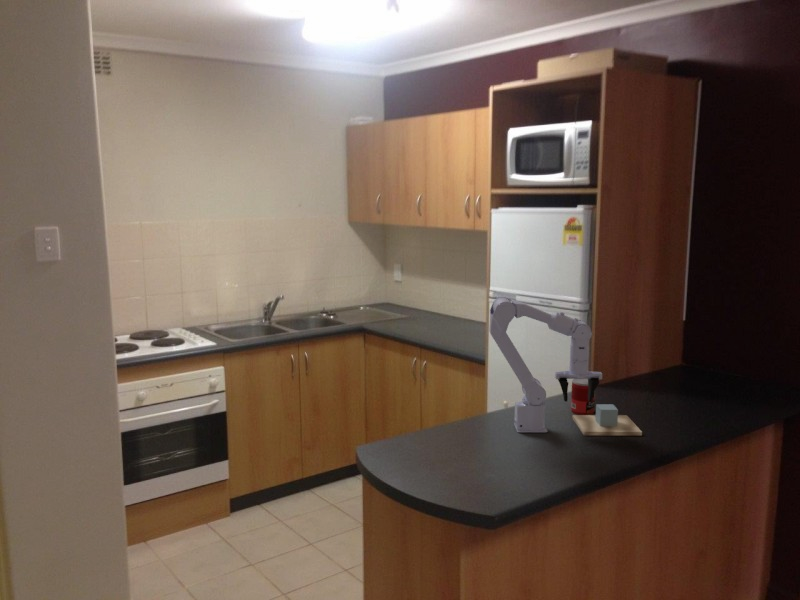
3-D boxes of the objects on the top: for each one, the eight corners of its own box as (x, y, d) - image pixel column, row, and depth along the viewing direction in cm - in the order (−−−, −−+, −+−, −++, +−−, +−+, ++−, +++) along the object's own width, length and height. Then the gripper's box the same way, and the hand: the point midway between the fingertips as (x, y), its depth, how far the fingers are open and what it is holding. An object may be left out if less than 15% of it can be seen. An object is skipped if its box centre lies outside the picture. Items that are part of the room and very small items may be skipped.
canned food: (590, 416, 239) (592, 385, 238) (567, 412, 244) (568, 381, 242) (597, 410, 246) (598, 380, 244) (574, 407, 250) (576, 376, 248)
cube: (600, 426, 227) (600, 409, 226) (595, 420, 232) (596, 404, 231) (617, 426, 227) (618, 409, 226) (612, 420, 232) (613, 404, 231)
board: (584, 435, 222) (584, 431, 222) (572, 418, 238) (572, 415, 238) (641, 435, 222) (642, 431, 222) (626, 418, 238) (626, 415, 237)
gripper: (558, 362, 220) (557, 404, 223) (605, 362, 220) (603, 404, 222) (554, 356, 227) (552, 397, 230) (599, 356, 227) (597, 397, 229)
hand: (577, 400), depth 226 cm, fingers open, 7 cm apart
